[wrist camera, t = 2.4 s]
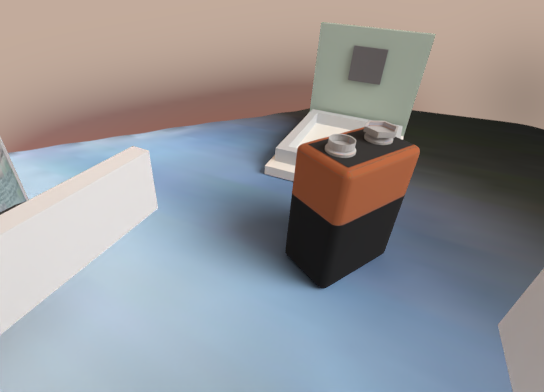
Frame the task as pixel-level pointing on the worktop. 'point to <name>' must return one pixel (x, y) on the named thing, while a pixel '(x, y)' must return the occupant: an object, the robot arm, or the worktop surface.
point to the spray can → (9, 182)
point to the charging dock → (357, 85)
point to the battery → (347, 199)
